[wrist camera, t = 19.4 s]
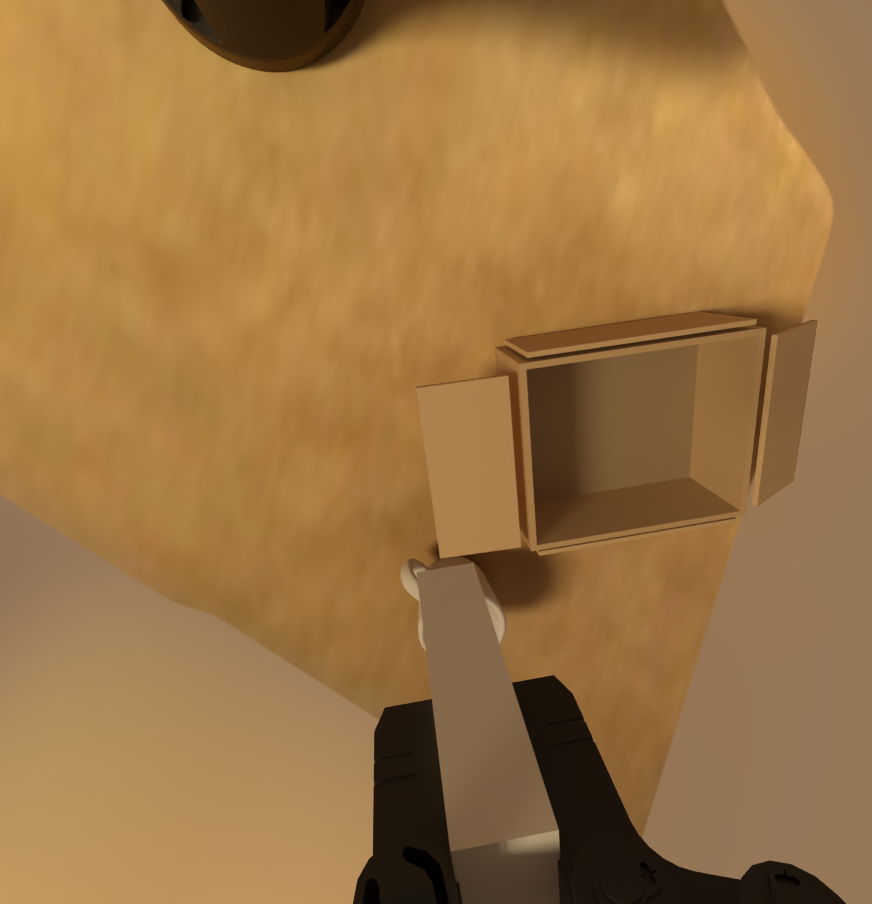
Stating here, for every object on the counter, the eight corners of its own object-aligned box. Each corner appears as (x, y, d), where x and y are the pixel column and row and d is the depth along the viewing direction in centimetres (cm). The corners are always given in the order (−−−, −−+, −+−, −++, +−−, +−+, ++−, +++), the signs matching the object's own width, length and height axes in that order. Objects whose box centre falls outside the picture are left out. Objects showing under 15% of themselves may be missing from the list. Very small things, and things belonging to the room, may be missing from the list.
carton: (494, 339, 43) (518, 354, 36) (702, 309, 44) (767, 317, 37) (508, 514, 49) (531, 558, 42) (690, 484, 50) (744, 522, 43)
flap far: (777, 335, 37) (817, 320, 41) (771, 335, 38) (811, 320, 41) (757, 506, 43) (793, 480, 46) (751, 504, 43) (788, 479, 46)
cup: (375, 570, 50) (375, 622, 43) (427, 515, 49) (436, 559, 41) (453, 622, 53) (465, 680, 46) (504, 572, 52) (525, 624, 44)
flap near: (507, 374, 36) (415, 386, 36) (508, 375, 36) (415, 388, 36) (519, 544, 42) (439, 555, 42) (520, 547, 41) (440, 558, 41)
